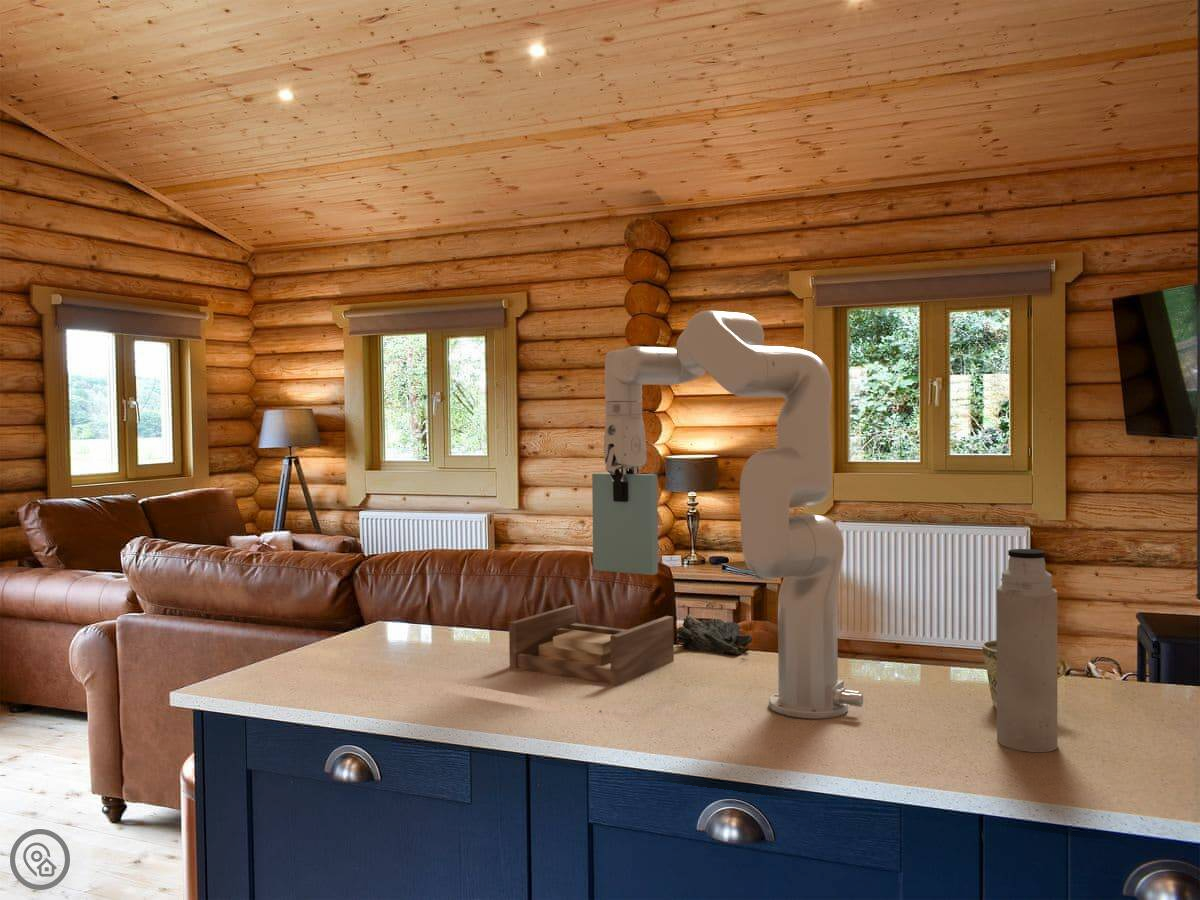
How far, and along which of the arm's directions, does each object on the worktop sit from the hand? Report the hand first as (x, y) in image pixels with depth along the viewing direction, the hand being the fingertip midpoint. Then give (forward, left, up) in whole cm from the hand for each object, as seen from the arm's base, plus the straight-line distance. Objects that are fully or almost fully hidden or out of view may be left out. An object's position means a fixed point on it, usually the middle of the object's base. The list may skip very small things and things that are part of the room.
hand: (624, 500), depth 193 cm
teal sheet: (0, 0, -15) cm, 15 cm away
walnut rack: (-3, +16, -31) cm, 36 cm away
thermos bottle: (-79, +17, -32) cm, 86 cm away
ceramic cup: (-76, 0, -32) cm, 82 cm away
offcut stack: (-3, +19, -30) cm, 36 cm away
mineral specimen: (-16, -7, -32) cm, 36 cm away
